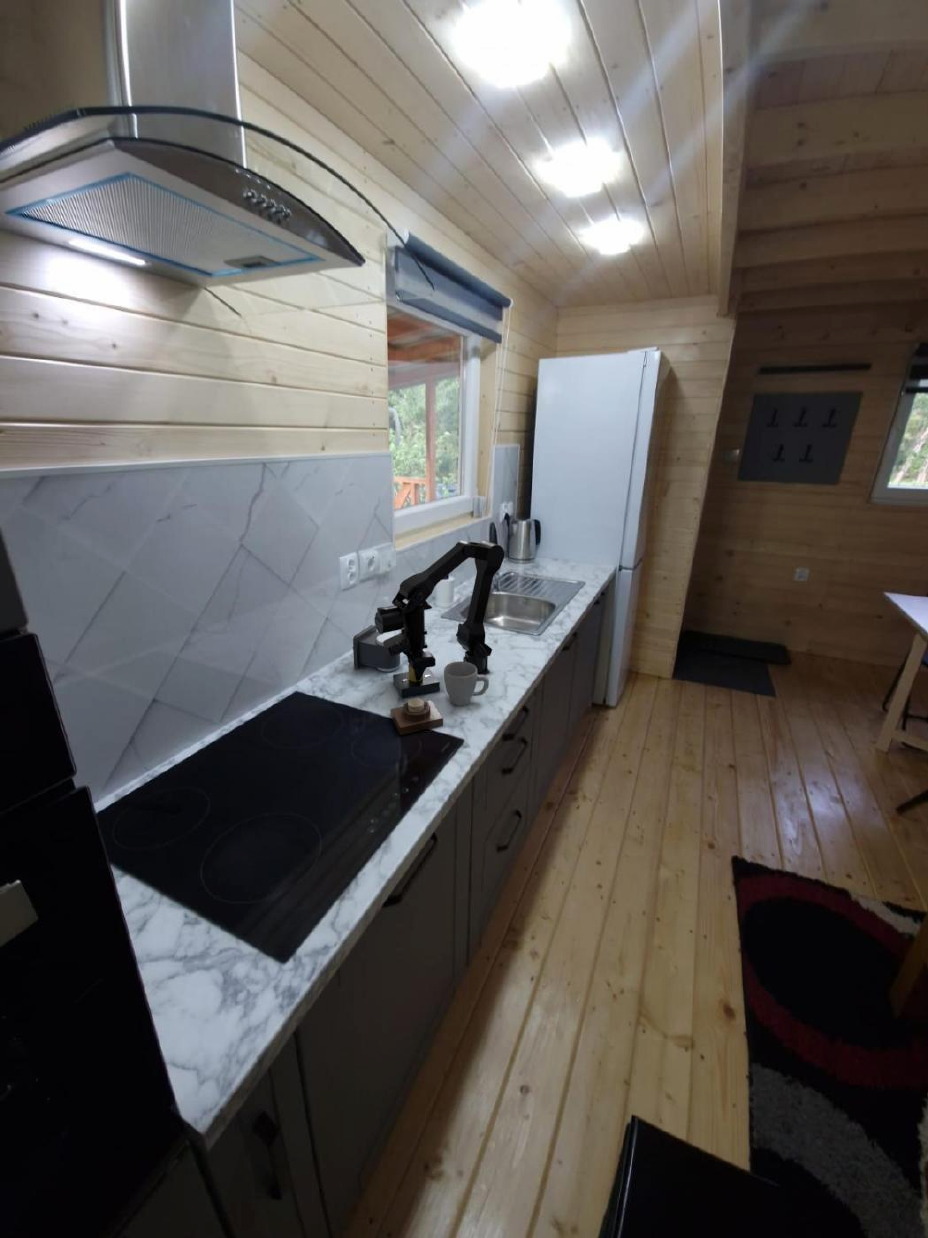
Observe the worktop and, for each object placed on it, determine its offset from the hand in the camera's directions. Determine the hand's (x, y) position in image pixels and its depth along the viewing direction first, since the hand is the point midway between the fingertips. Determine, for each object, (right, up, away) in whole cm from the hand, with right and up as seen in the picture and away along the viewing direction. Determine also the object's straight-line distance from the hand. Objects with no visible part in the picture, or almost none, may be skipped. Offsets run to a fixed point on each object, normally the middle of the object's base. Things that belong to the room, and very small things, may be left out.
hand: (415, 676), depth 140 cm
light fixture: (-12, +2, +14) cm, 18 cm away
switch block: (+2, -10, -14) cm, 17 cm away
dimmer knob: (0, 0, 0) cm, 0 cm away
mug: (+14, -6, -5) cm, 16 cm away
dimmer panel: (0, -3, +1) cm, 4 cm away
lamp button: (+2, -6, -15) cm, 17 cm away
